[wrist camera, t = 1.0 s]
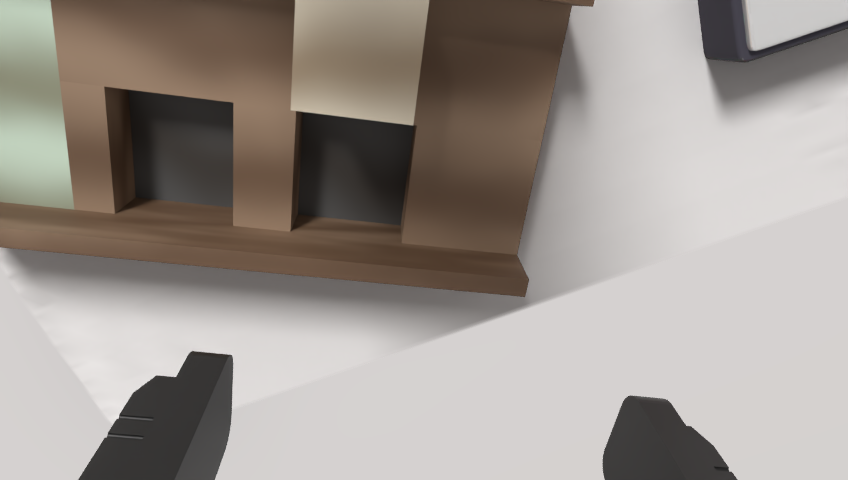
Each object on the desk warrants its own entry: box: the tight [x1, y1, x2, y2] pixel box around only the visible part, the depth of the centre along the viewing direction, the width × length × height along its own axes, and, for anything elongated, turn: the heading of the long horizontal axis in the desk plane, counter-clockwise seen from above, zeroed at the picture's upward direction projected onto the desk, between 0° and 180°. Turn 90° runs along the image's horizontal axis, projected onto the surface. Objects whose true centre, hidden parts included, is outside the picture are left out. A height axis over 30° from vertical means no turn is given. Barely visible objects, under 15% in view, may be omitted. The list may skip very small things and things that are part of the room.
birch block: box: [291, 0, 429, 125], centre depth 24 cm, size 5×5×5 cm
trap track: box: [0, 0, 594, 297], centre depth 27 cm, size 15×31×6 cm, turn 82°
